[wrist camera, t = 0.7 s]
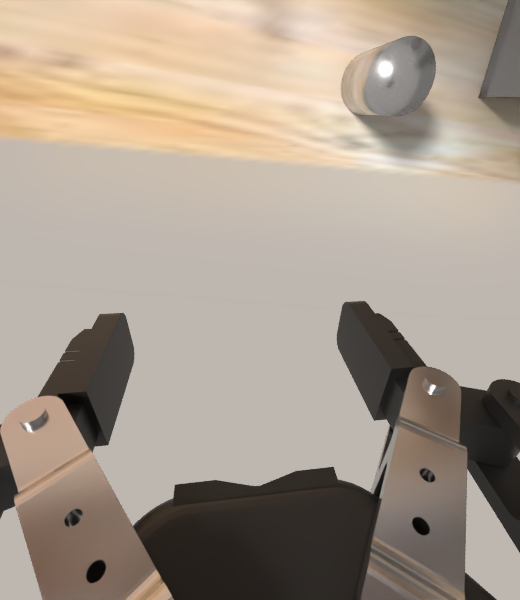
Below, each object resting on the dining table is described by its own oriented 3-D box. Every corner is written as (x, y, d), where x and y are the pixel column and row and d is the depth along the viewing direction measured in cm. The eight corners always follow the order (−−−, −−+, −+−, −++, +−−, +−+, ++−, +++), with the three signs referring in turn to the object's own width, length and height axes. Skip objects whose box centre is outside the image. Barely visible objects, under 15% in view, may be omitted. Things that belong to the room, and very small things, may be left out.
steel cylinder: (344, 50, 28) (379, 35, 22) (397, 51, 29) (444, 36, 23) (337, 114, 31) (366, 115, 25) (385, 114, 31) (425, 115, 26)
